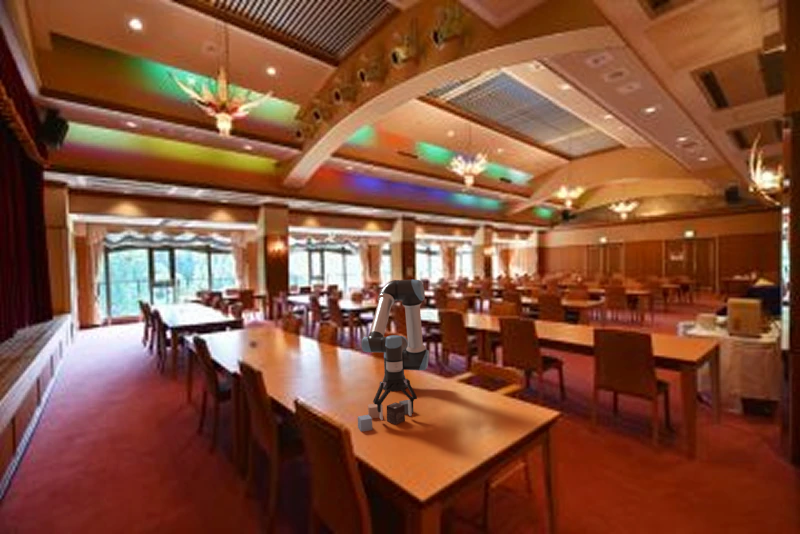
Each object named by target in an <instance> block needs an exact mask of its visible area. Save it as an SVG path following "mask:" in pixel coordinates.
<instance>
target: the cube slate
mask: <svg viewBox="0 0 800 534" xmlns="http://www.w3.org/2000/svg"><path fill="white" fill-rule="evenodd" d="M357 429H359V431H360V432H361V433H362V431H363V432H367V431H373V418H371V417H370V416H369V415H368V414H364V415H359V416H357Z"/></svg>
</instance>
